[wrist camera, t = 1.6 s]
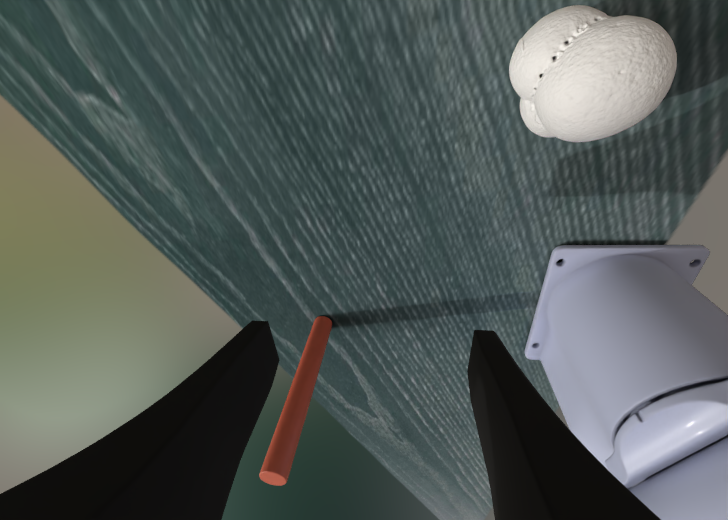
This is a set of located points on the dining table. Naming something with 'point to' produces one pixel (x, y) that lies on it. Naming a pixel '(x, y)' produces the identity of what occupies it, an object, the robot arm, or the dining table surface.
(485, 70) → the dining table surface
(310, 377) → the straw
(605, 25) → the microfossil shell
